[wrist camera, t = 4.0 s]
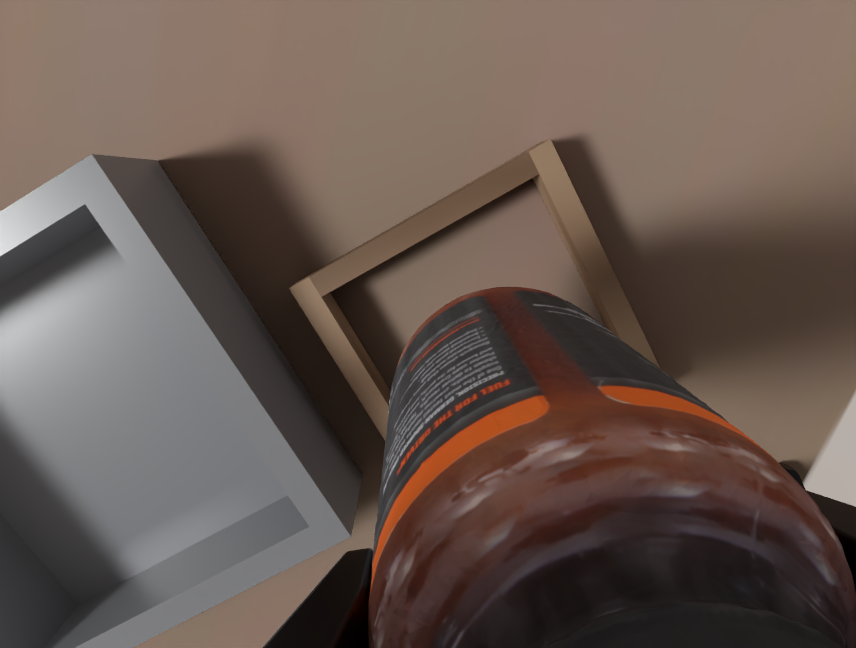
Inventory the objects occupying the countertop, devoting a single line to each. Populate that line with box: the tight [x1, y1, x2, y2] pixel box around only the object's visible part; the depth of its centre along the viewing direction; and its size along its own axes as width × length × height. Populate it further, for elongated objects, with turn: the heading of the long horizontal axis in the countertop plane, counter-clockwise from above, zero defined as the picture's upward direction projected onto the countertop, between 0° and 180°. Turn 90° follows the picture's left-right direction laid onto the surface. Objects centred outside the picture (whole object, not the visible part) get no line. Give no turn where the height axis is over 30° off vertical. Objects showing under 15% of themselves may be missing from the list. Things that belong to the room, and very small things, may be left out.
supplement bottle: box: [368, 287, 856, 648], centre depth 9 cm, size 6×6×11 cm
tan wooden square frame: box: [289, 139, 660, 442], centre depth 20 cm, size 10×10×2 cm
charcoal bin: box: [0, 154, 363, 648], centre depth 20 cm, size 14×14×4 cm
